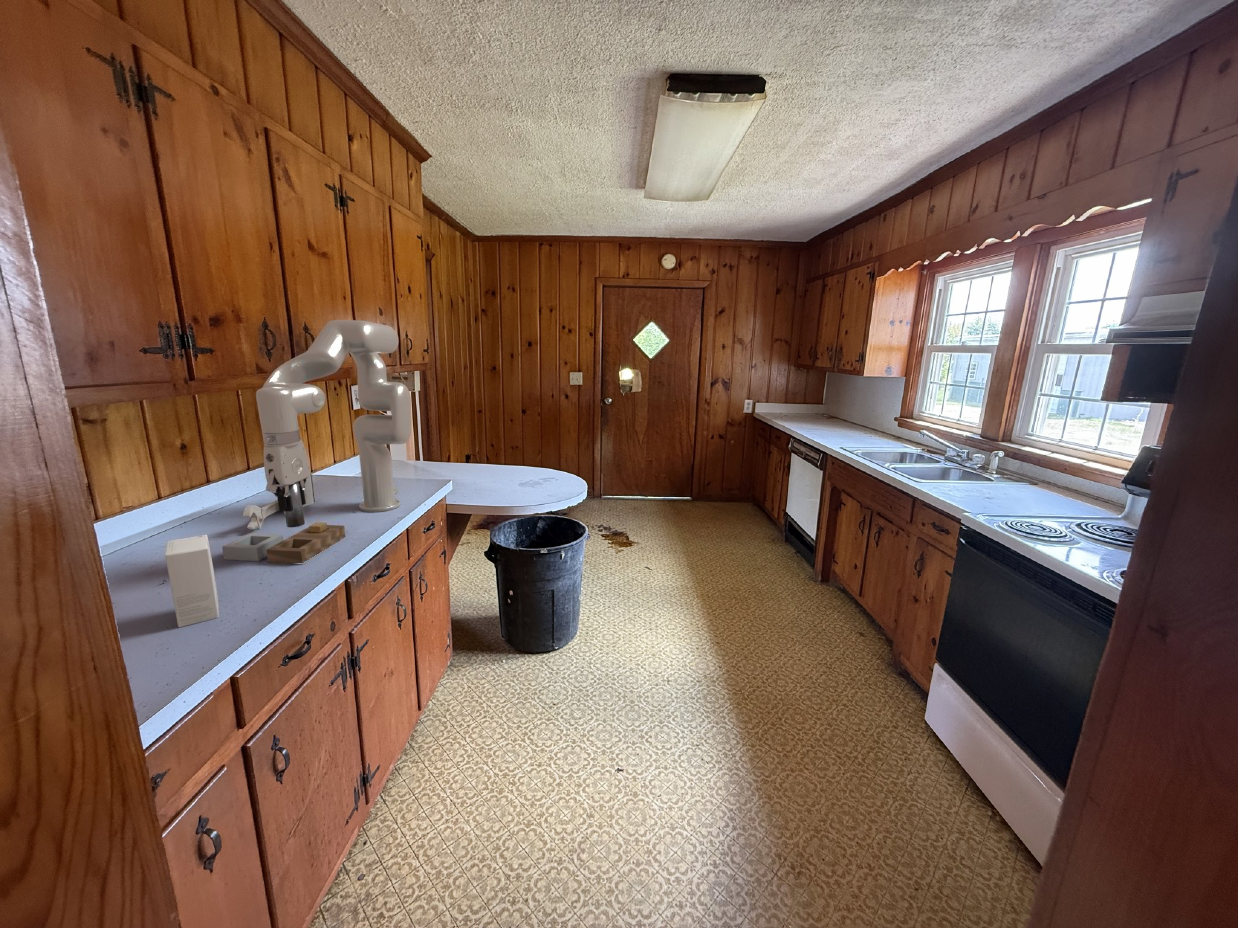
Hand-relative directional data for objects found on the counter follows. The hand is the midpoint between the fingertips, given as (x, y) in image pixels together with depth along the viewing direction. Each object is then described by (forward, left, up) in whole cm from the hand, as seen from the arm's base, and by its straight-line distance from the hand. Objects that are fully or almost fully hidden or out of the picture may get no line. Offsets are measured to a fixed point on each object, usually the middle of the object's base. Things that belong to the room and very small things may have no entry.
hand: (292, 506), depth 124 cm
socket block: (-4, 0, -13) cm, 14 cm away
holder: (0, -12, -13) cm, 18 cm away
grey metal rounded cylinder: (0, 0, -5) cm, 5 cm away
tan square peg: (-8, 0, -13) cm, 15 cm away
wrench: (-24, -27, -14) cm, 39 cm away
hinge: (-35, -26, -14) cm, 46 cm away
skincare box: (+29, 0, -13) cm, 32 cm away
